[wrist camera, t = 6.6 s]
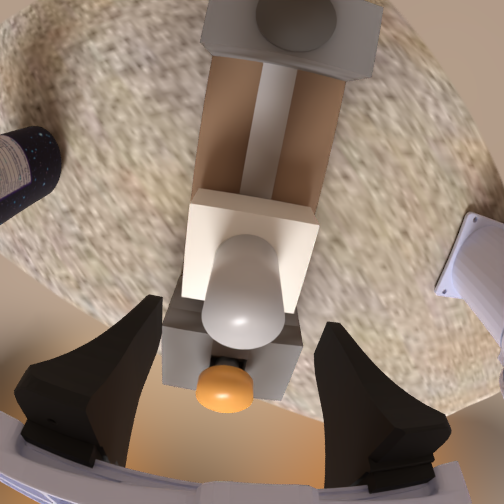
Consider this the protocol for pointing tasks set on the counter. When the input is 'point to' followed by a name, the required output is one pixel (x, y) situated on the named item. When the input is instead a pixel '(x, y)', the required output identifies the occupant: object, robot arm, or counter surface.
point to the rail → (268, 144)
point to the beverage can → (26, 169)
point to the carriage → (246, 264)
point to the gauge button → (225, 387)
